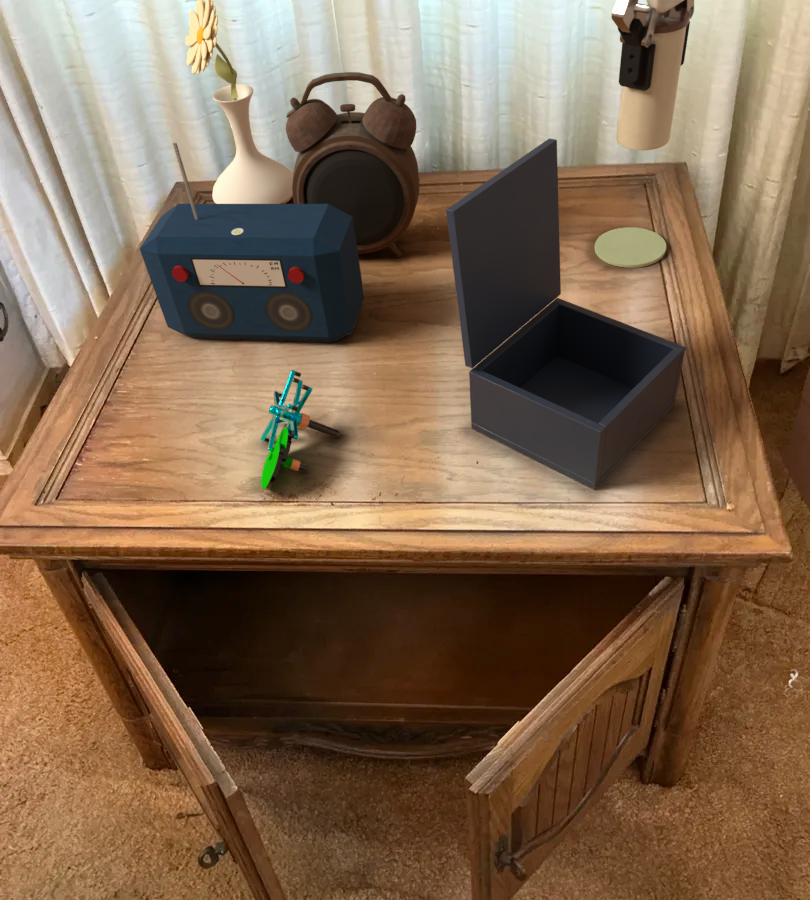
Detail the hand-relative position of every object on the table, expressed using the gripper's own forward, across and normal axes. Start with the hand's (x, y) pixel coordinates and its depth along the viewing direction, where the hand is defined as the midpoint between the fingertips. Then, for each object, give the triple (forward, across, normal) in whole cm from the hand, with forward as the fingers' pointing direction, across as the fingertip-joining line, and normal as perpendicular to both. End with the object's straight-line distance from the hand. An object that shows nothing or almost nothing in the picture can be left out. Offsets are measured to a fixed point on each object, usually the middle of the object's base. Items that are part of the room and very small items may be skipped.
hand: (651, 73), depth 83 cm
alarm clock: (+19, -17, +26) cm, 36 cm away
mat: (+19, 0, 0) cm, 19 cm away
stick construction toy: (+19, -47, +7) cm, 51 cm away
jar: (+6, 0, 0) cm, 6 cm away
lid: (+4, -28, -4) cm, 28 cm away
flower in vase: (+19, -16, +46) cm, 52 cm away
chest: (+19, -28, -11) cm, 35 cm away
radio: (+19, -34, +25) cm, 46 cm away
